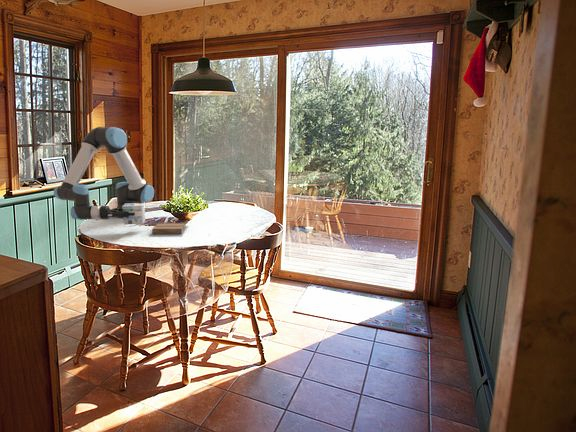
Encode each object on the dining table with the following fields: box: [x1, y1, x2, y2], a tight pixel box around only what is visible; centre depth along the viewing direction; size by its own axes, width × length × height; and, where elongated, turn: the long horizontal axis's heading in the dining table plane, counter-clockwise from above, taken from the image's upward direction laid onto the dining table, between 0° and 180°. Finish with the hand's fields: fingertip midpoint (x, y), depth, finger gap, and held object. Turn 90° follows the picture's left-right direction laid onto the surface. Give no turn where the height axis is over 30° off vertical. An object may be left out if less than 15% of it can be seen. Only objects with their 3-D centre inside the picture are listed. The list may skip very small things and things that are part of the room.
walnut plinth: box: [151, 222, 187, 234], centre depth 235 cm, size 14×16×3 cm
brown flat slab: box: [148, 225, 189, 238], centre depth 236 cm, size 24×18×1 cm
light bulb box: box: [122, 202, 146, 225], centre depth 231 cm, size 11×7×11 cm, turn 99°
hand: (142, 212), depth 232 cm, fingers closed on light bulb box, 7 cm apart
